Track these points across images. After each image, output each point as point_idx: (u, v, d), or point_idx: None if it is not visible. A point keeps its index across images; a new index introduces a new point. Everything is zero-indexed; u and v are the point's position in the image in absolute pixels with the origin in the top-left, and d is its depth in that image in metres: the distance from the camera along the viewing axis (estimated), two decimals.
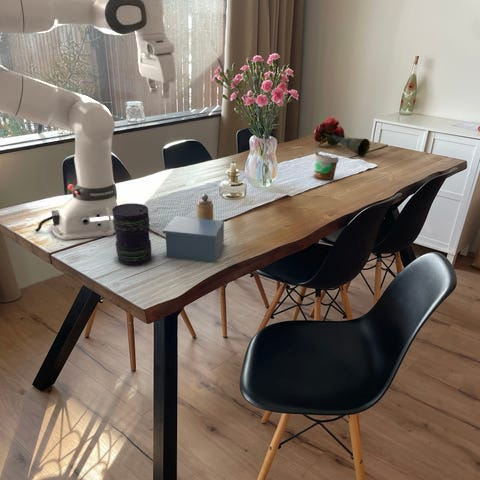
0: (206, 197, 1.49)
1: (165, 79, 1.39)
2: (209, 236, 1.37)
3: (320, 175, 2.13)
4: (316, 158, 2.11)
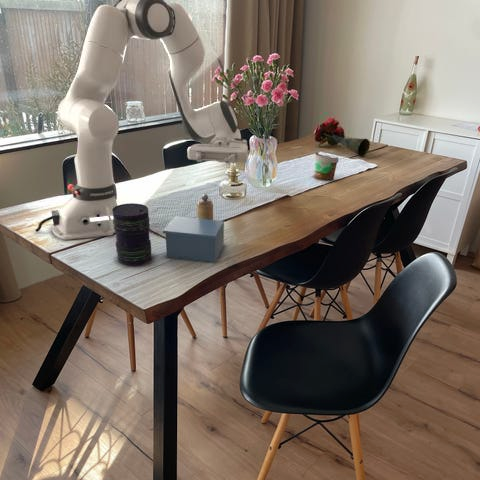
0: (206, 197, 1.49)
1: (246, 152, 1.58)
2: (209, 236, 1.37)
3: (320, 175, 2.13)
4: (316, 158, 2.11)
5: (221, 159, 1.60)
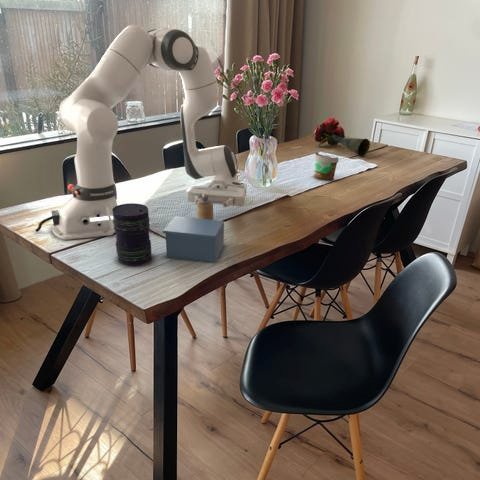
0: (206, 197, 1.49)
1: (244, 196, 1.63)
2: (209, 236, 1.37)
3: (320, 175, 2.13)
4: (316, 158, 2.11)
5: (219, 202, 1.65)
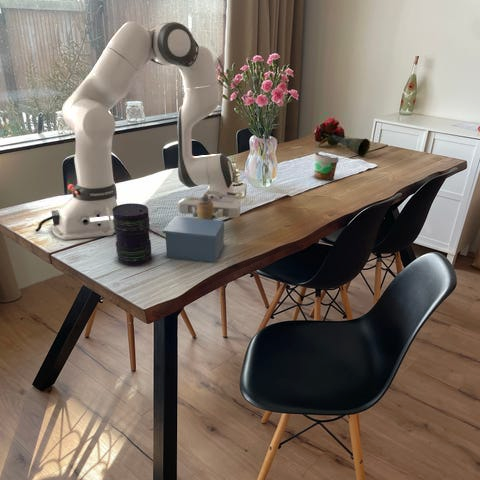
0: (206, 197, 1.49)
1: (239, 207, 1.55)
2: (209, 236, 1.37)
3: (320, 175, 2.13)
4: (316, 158, 2.11)
5: None
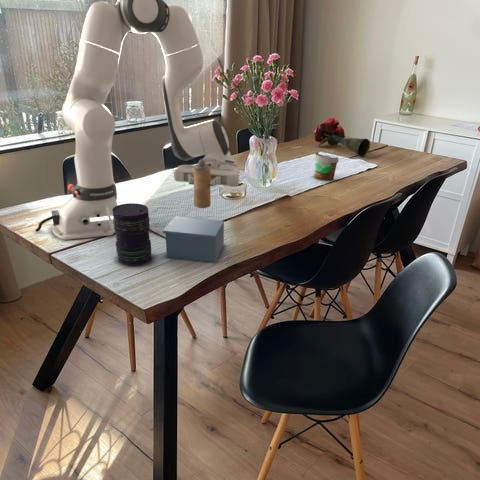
0: (203, 162, 1.40)
1: (238, 175, 1.46)
2: (209, 236, 1.37)
3: (320, 175, 2.13)
4: (316, 158, 2.11)
5: None
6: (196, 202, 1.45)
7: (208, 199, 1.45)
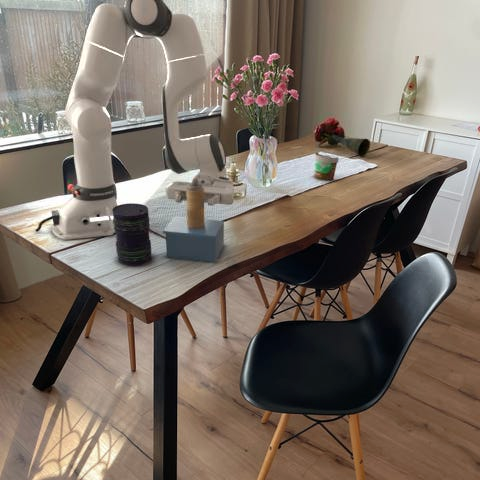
0: (196, 182, 1.35)
1: (232, 193, 1.40)
2: (209, 236, 1.37)
3: (320, 175, 2.13)
4: (316, 158, 2.11)
5: (204, 200, 1.42)
6: (189, 222, 1.40)
7: (202, 219, 1.40)
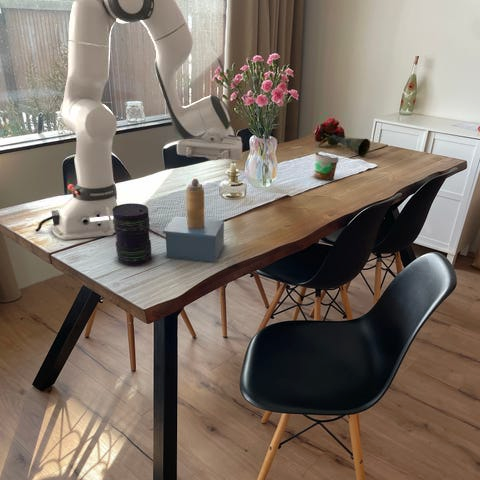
0: (196, 182, 1.35)
1: (241, 148, 1.46)
2: (209, 236, 1.37)
3: (320, 175, 2.13)
4: (316, 158, 2.11)
5: (213, 155, 1.48)
6: (189, 222, 1.40)
7: (202, 219, 1.40)
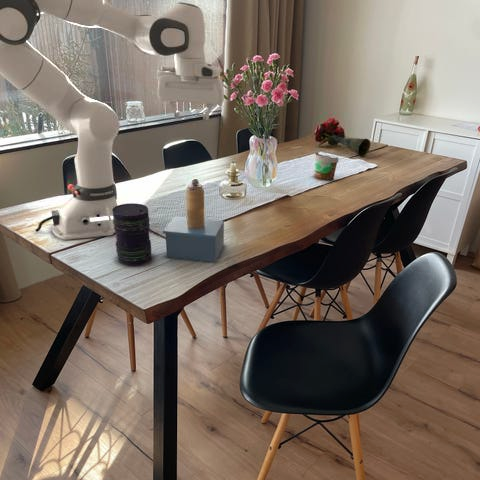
0: (196, 182, 1.35)
1: (222, 100, 1.45)
2: (209, 236, 1.37)
3: (320, 175, 2.13)
4: (316, 158, 2.11)
5: None
6: (189, 222, 1.40)
7: (202, 219, 1.40)
